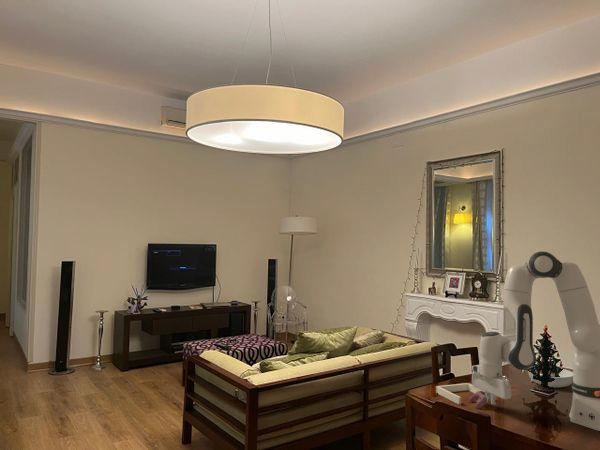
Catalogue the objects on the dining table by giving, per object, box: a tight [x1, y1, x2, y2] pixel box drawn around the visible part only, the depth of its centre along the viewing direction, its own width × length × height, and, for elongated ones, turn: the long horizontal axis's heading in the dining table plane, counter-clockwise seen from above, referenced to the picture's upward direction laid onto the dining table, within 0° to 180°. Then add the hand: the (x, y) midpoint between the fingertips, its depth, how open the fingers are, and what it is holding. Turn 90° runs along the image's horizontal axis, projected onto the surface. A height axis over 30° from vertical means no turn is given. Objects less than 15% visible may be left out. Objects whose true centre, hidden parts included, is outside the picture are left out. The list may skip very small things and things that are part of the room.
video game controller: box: [468, 390, 488, 409], centre depth 207 cm, size 10×5×7 cm, turn 177°
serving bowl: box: [527, 368, 573, 389], centre depth 238 cm, size 21×21×7 cm
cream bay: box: [435, 382, 492, 405], centre depth 219 cm, size 17×18×3 cm
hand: (491, 403), depth 202 cm, fingers closed
